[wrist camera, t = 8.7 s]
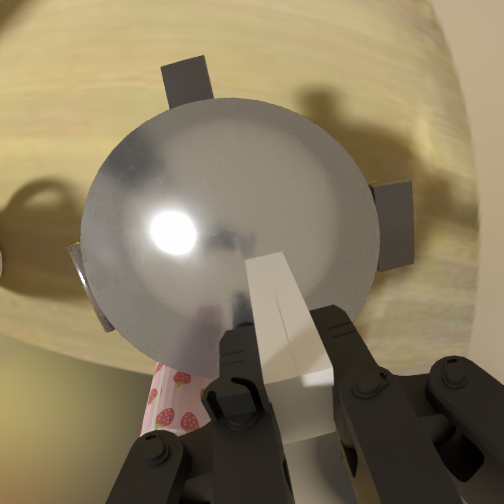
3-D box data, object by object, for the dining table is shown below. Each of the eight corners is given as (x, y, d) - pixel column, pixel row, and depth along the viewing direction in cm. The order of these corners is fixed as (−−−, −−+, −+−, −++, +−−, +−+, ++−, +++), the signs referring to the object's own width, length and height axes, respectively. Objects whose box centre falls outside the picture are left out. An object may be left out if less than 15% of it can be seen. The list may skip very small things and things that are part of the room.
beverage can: (193, 364, 32) (182, 481, 18) (154, 334, 31) (121, 452, 17) (229, 338, 31) (233, 462, 17) (190, 304, 29) (169, 430, 16)
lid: (45, 160, 14) (18, 167, 12) (386, 76, 13) (411, 69, 11) (138, 381, 20) (130, 407, 18) (402, 329, 20) (418, 352, 17)
